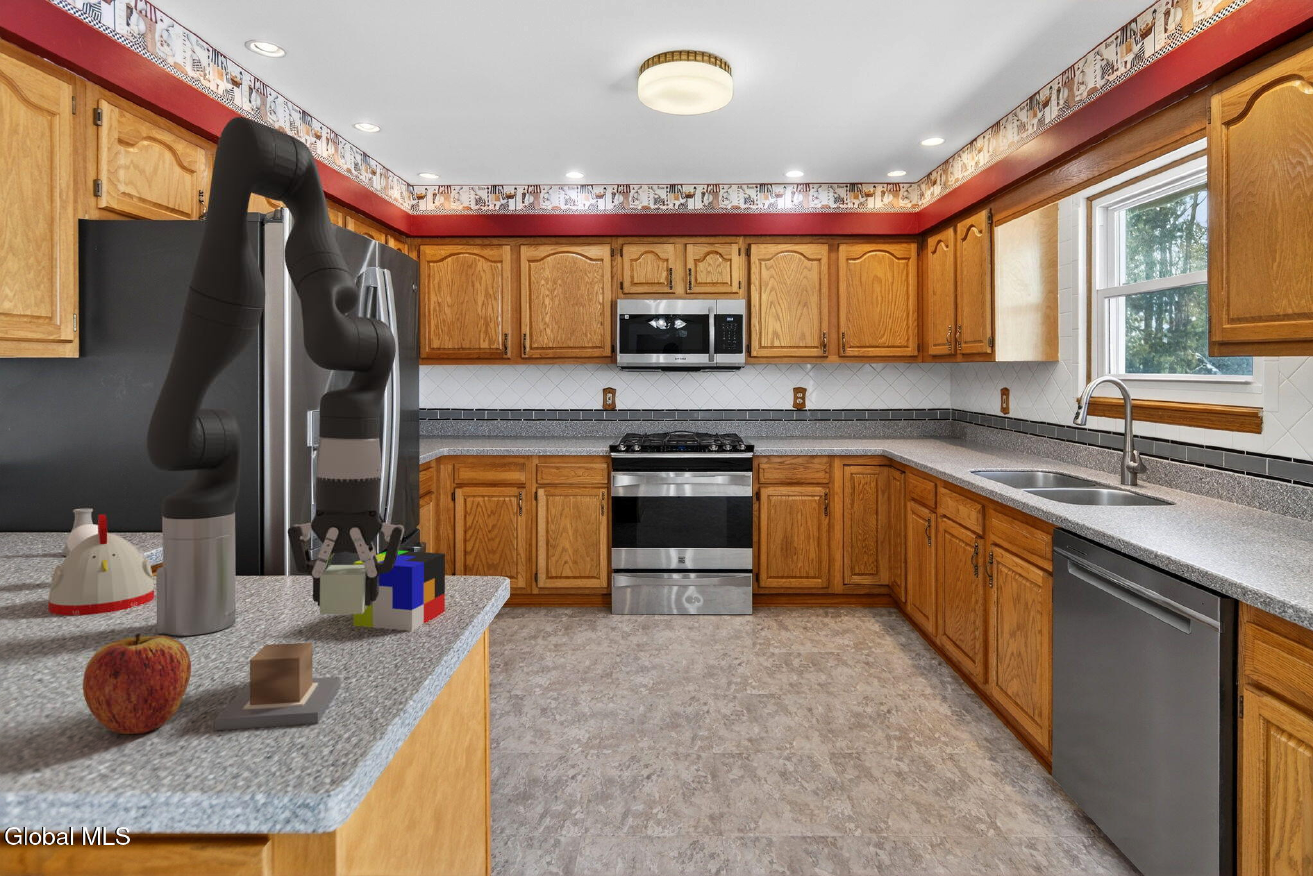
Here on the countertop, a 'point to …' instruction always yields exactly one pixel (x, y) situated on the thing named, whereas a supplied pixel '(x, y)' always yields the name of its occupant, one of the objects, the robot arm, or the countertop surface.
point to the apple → (137, 682)
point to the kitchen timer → (101, 576)
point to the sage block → (343, 589)
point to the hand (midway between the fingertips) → (346, 603)
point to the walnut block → (280, 673)
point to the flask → (79, 523)
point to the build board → (279, 708)
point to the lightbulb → (81, 535)
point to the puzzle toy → (407, 592)
